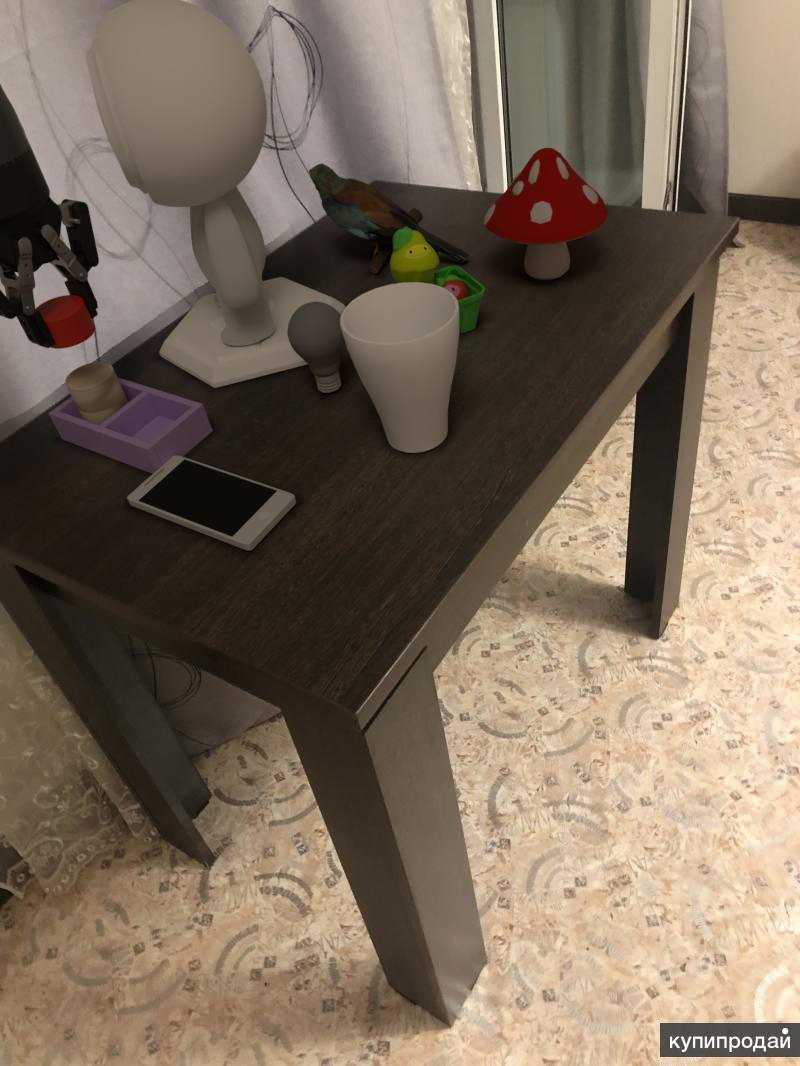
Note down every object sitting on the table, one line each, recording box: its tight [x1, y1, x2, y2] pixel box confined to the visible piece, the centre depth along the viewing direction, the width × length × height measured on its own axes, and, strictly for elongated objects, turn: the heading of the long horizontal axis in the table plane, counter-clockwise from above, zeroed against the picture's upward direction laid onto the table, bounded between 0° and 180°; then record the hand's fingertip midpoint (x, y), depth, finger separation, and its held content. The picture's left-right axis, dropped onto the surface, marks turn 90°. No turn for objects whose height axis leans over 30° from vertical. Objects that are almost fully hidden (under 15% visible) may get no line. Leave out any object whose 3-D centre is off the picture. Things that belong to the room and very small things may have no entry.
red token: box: [35, 294, 96, 350], centre depth 79 cm, size 5×5×3 cm
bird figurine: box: [308, 163, 470, 275], centre depth 104 cm, size 13×10×20 cm
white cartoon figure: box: [85, 0, 346, 389], centre depth 86 cm, size 20×23×35 cm
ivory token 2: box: [79, 393, 129, 425], centre depth 87 cm, size 5×5×3 cm
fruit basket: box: [389, 227, 486, 335], centre depth 90 cm, size 11×9×11 cm
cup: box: [340, 282, 460, 454], centre depth 76 cm, size 10×10×14 cm
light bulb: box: [287, 302, 346, 394], centre depth 84 cm, size 6×6×10 cm
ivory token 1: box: [64, 361, 124, 413], centre depth 85 cm, size 5×5×3 cm
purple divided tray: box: [48, 376, 214, 475], centre depth 85 cm, size 8×15×4 cm, turn 57°
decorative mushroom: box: [483, 147, 609, 281], centre depth 94 cm, size 14×14×15 cm
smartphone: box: [126, 455, 297, 551], centre depth 76 cm, size 7×15×1 cm, turn 59°
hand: (67, 329), depth 80 cm, fingers closed on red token, 5 cm apart
